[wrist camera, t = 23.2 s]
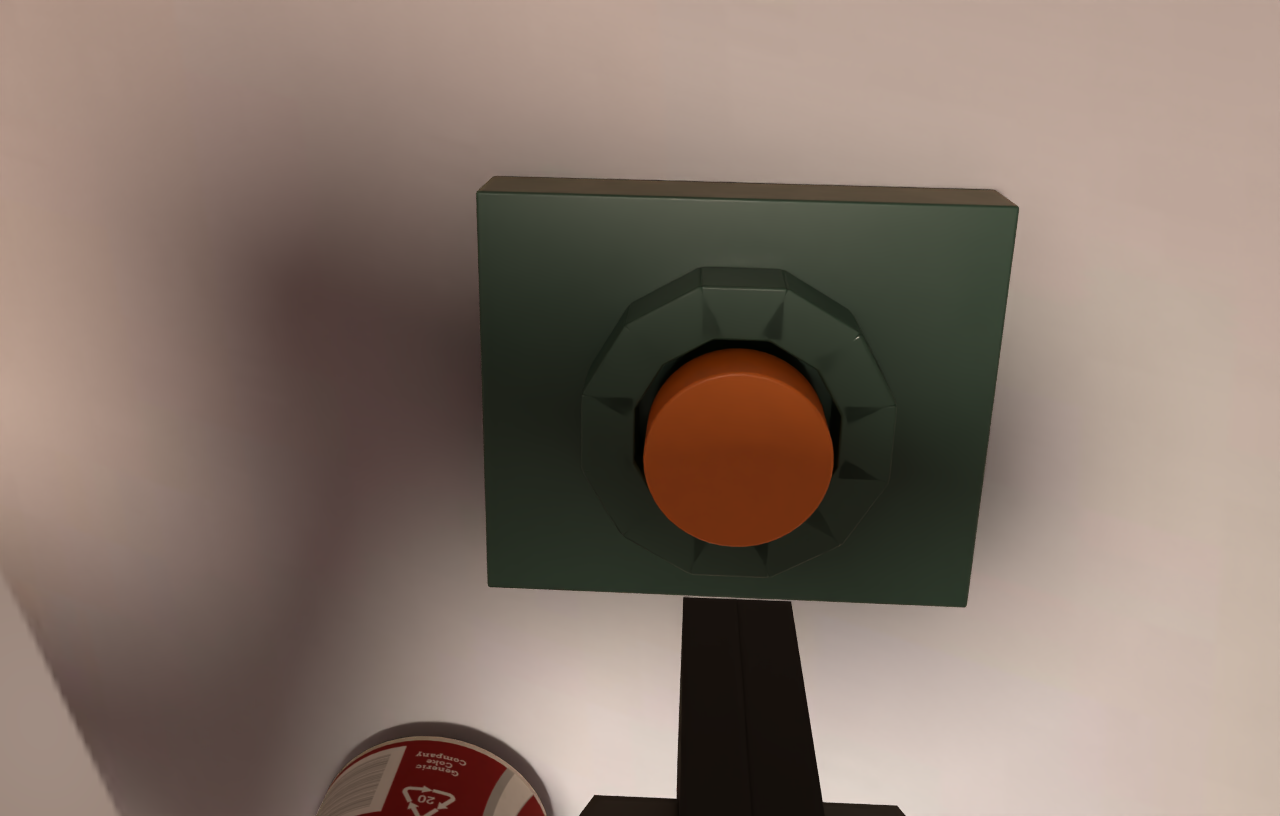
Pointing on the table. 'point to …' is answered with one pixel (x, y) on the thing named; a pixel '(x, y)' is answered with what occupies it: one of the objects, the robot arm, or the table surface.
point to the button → (737, 448)
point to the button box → (751, 319)
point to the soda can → (429, 782)
